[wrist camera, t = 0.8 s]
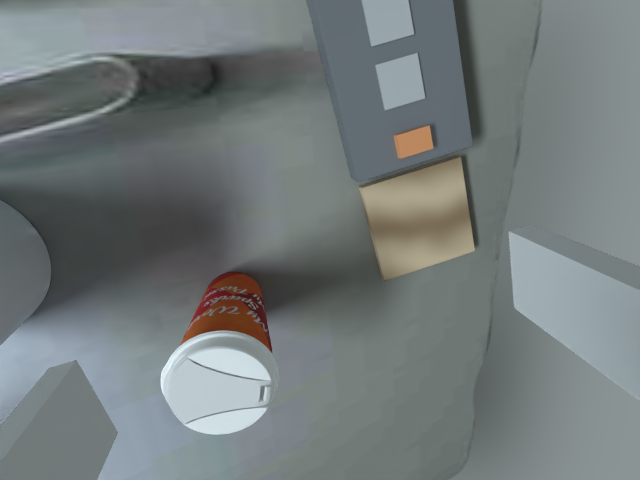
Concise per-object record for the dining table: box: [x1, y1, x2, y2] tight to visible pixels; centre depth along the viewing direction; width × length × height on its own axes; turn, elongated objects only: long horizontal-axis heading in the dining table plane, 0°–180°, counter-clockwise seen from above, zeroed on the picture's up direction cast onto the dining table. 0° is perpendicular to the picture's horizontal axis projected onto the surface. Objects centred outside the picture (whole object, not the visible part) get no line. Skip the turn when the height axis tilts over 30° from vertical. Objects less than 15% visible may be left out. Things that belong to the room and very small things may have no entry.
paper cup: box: [161, 272, 279, 434], centre depth 31 cm, size 8×8×14 cm
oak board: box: [359, 156, 475, 281], centre depth 37 cm, size 10×10×1 cm
